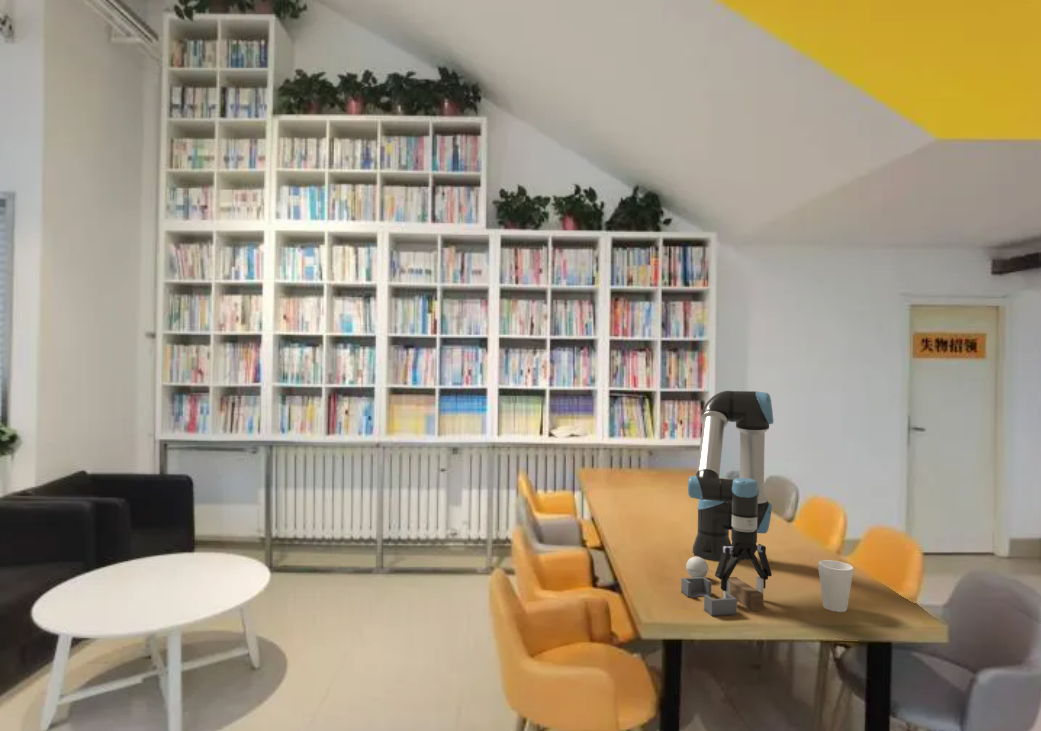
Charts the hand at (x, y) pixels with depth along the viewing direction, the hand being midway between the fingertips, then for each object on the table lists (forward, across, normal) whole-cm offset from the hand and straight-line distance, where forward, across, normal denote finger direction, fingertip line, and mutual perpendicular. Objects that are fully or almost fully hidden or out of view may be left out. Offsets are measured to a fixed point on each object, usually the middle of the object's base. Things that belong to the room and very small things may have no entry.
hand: (743, 599), depth 185 cm
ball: (0, -4, +20) cm, 20 cm away
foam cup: (0, +25, -9) cm, 27 cm away
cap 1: (0, -12, +7) cm, 14 cm away
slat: (+1, 0, 0) cm, 1 cm away
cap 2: (0, -12, -7) cm, 14 cm away
